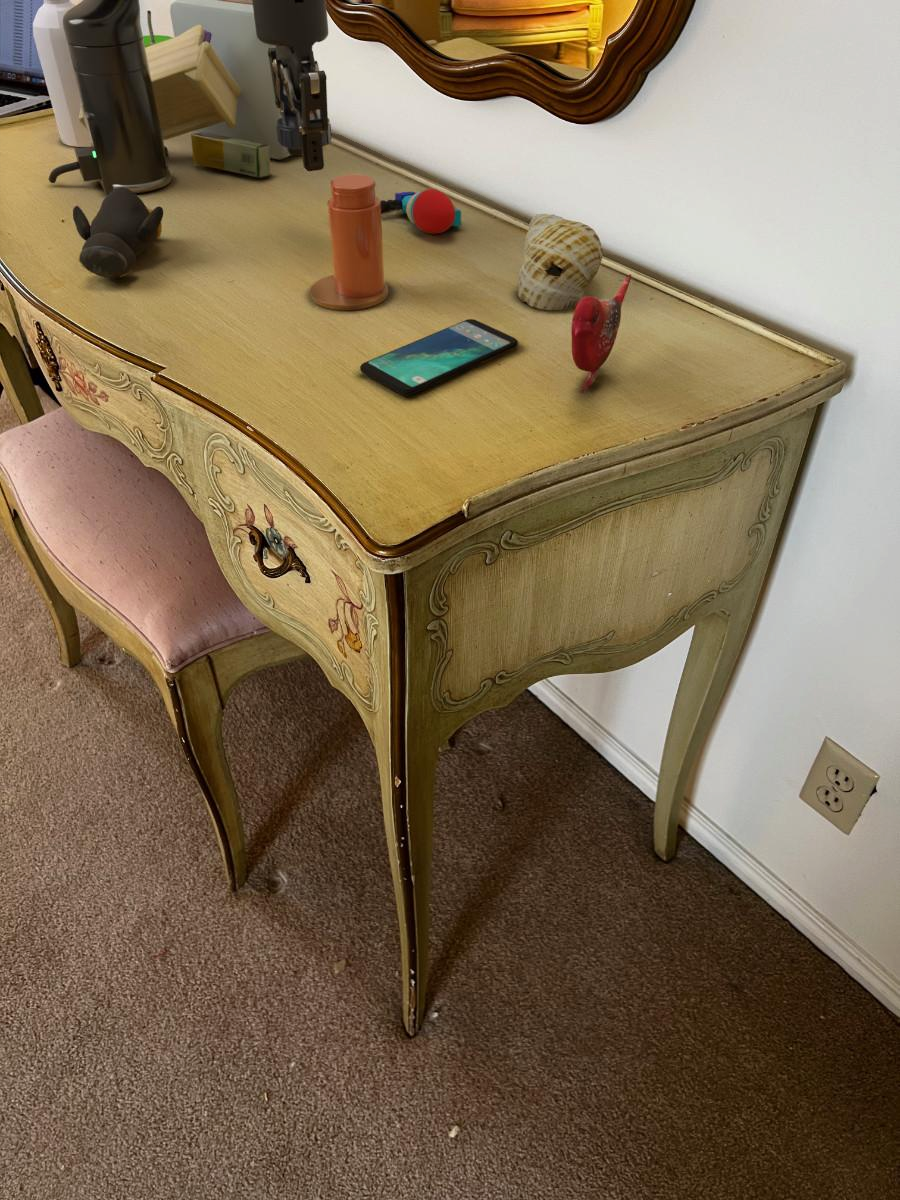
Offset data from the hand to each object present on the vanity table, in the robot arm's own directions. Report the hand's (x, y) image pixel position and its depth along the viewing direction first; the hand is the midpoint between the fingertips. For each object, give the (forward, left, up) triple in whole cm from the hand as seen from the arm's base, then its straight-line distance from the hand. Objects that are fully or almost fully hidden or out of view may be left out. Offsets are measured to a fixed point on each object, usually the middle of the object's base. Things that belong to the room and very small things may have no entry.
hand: (305, 161), depth 105 cm
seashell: (+20, -24, -9) cm, 33 cm away
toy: (-19, +10, -6) cm, 22 cm away
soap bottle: (-19, +53, -9) cm, 58 cm away
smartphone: (+2, -34, -9) cm, 35 cm away
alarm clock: (+3, +40, -9) cm, 41 cm away
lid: (0, 0, +4) cm, 4 cm away
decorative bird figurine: (+15, -42, -9) cm, 46 cm away
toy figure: (+14, 0, -9) cm, 17 cm away
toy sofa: (-11, +34, -3) cm, 36 cm away
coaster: (-1, -16, -9) cm, 18 cm away
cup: (-6, +65, -9) cm, 66 cm away
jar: (0, -16, -9) cm, 18 cm away
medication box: (-3, +29, -9) cm, 31 cm away
